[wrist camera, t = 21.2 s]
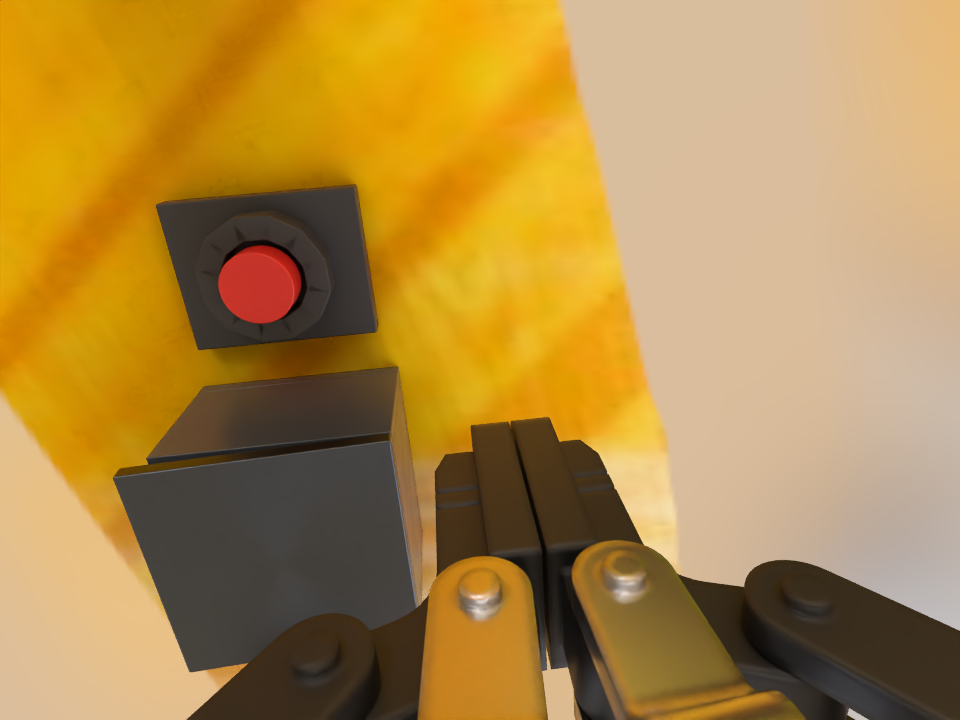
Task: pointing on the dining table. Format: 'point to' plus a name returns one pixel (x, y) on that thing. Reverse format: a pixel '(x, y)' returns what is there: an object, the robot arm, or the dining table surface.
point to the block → (295, 231)
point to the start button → (260, 284)
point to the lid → (271, 542)
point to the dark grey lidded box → (301, 426)
